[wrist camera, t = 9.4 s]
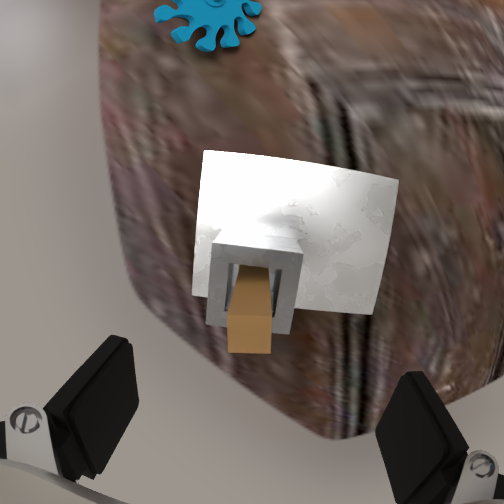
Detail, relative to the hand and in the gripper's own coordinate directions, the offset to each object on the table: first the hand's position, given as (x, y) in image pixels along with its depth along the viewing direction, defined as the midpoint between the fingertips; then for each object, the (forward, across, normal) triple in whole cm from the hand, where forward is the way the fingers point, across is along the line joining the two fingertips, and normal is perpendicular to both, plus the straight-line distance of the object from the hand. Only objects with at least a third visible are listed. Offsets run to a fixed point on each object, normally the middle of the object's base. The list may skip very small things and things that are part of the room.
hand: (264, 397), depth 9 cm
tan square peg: (+16, +1, +1) cm, 16 cm away
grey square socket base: (+16, -2, -2) cm, 17 cm away
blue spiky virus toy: (+17, +7, -22) cm, 28 cm away
